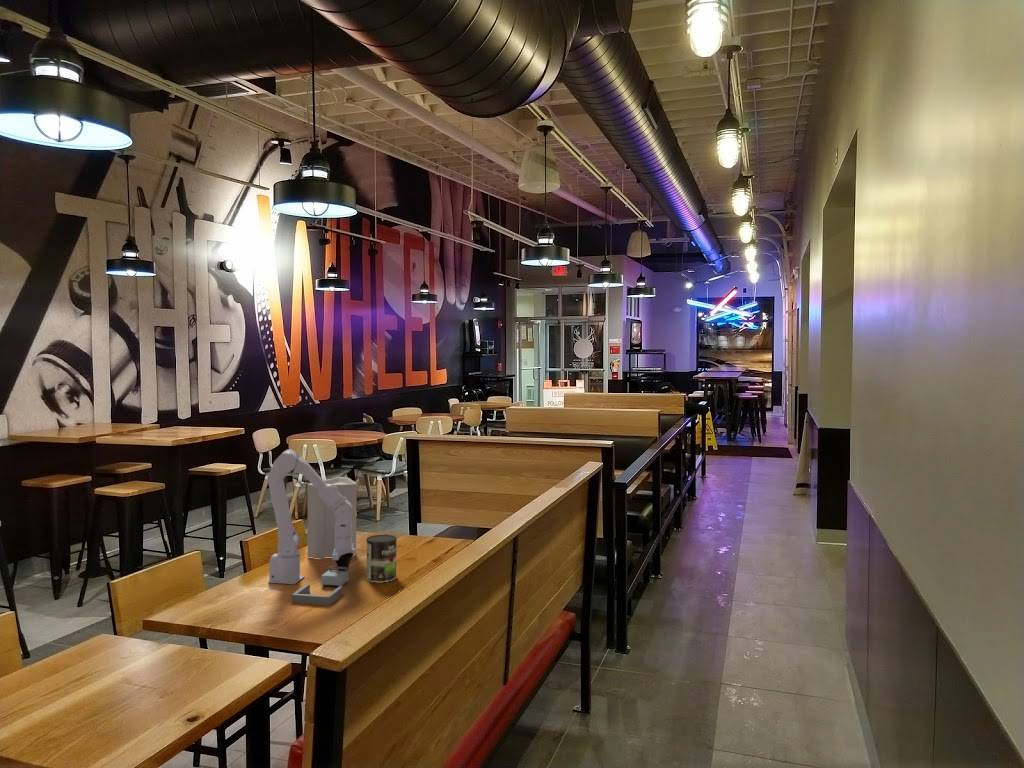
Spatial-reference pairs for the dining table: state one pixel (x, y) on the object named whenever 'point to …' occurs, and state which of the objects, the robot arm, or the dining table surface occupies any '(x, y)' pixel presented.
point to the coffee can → (381, 558)
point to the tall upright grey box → (327, 518)
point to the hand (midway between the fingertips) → (343, 575)
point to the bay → (315, 596)
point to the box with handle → (334, 576)
